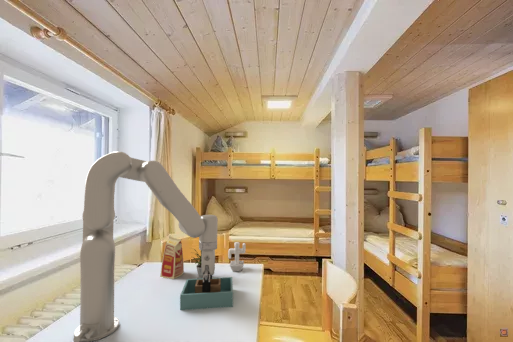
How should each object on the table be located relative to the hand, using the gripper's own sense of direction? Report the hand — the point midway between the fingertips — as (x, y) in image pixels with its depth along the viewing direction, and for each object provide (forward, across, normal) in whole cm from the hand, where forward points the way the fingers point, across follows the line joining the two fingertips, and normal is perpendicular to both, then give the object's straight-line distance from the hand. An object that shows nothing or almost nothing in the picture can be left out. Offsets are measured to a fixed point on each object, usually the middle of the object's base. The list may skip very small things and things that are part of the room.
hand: (207, 286), depth 104 cm
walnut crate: (+5, 0, 0) cm, 5 cm away
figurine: (+5, +31, -14) cm, 34 cm away
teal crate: (+6, 0, 0) cm, 6 cm away
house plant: (+5, +23, +4) cm, 24 cm away
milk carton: (+6, +28, +20) cm, 35 cm away
